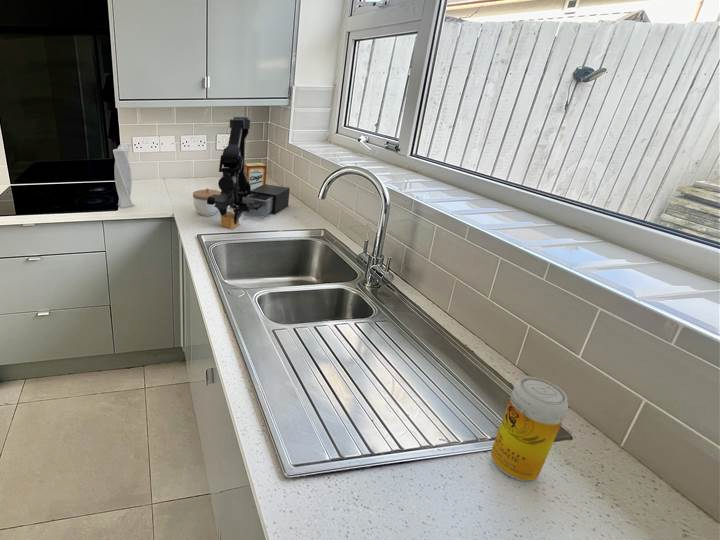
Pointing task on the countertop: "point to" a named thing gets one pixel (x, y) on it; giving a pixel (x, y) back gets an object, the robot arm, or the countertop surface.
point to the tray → (260, 204)
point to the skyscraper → (123, 176)
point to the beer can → (529, 428)
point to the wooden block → (228, 220)
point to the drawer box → (274, 195)
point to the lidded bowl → (204, 202)
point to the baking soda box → (255, 174)
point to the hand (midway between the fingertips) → (229, 223)
